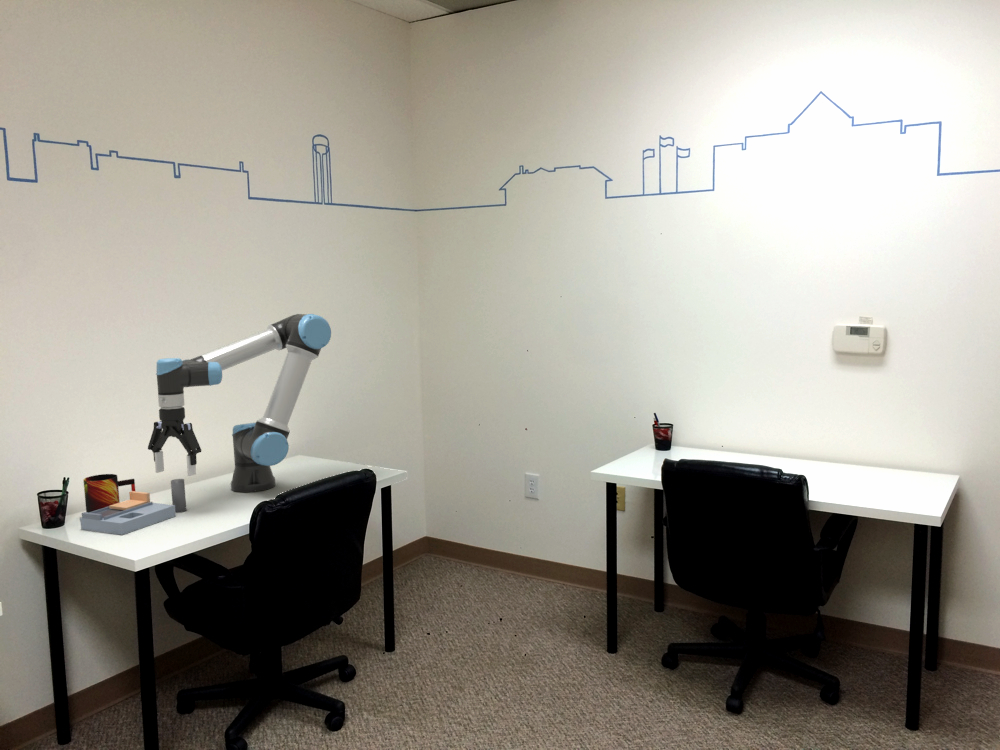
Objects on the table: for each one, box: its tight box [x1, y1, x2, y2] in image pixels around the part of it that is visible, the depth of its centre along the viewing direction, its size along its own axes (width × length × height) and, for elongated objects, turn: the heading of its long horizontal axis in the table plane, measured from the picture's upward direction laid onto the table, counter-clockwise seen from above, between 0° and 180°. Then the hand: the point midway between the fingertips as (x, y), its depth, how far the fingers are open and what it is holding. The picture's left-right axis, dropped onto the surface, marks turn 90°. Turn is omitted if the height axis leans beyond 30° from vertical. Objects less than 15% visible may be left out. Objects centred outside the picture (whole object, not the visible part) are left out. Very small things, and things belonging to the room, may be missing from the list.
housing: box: [79, 501, 177, 536], centre depth 242 cm, size 20×17×5 cm
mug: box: [82, 473, 136, 513], centre depth 254 cm, size 10×14×12 cm
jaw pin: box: [170, 478, 187, 514], centre depth 254 cm, size 4×4×10 cm
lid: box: [109, 490, 151, 510], centre depth 247 cm, size 9×7×3 cm
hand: (175, 473), depth 253 cm, fingers open, 13 cm apart
